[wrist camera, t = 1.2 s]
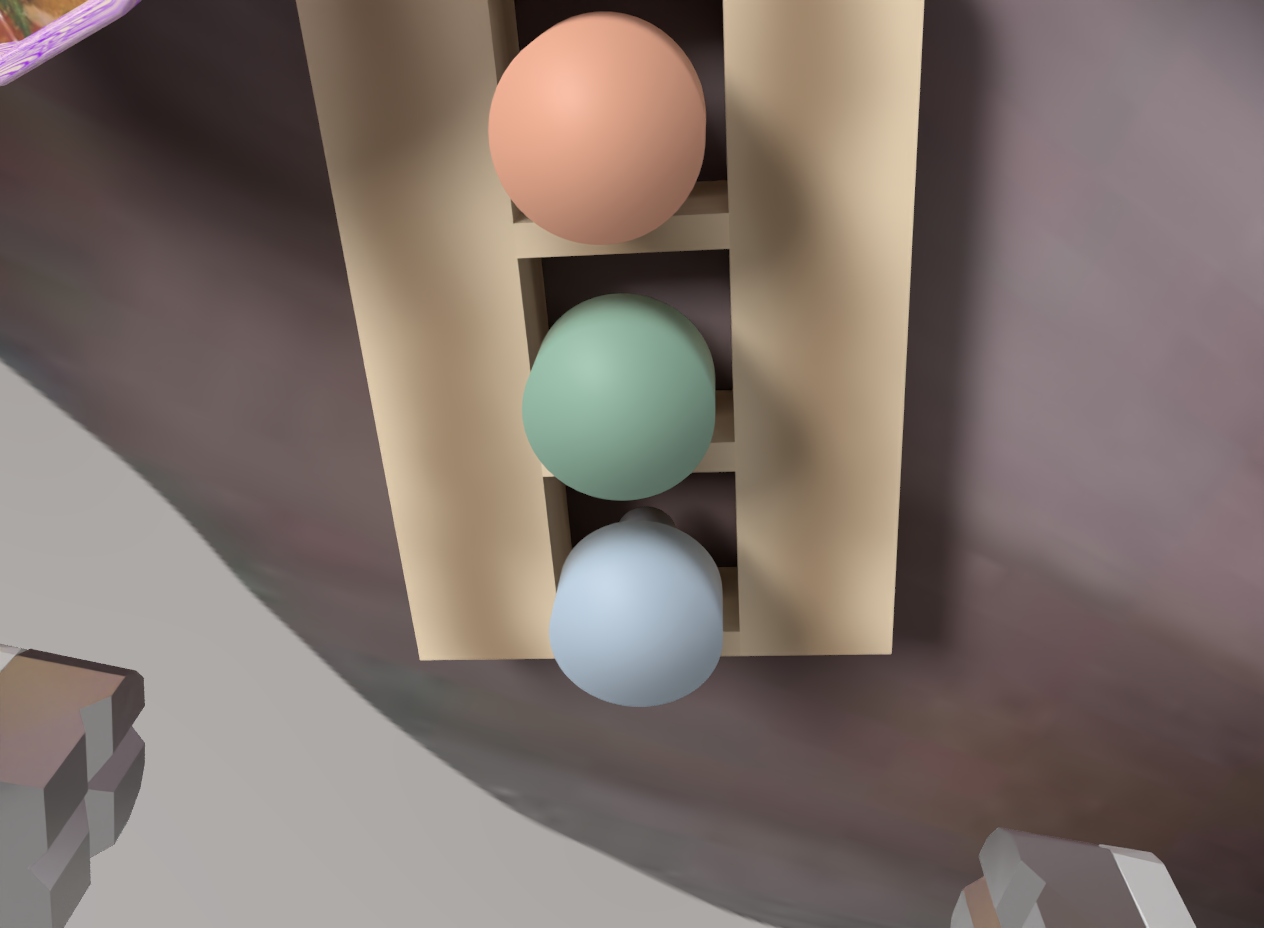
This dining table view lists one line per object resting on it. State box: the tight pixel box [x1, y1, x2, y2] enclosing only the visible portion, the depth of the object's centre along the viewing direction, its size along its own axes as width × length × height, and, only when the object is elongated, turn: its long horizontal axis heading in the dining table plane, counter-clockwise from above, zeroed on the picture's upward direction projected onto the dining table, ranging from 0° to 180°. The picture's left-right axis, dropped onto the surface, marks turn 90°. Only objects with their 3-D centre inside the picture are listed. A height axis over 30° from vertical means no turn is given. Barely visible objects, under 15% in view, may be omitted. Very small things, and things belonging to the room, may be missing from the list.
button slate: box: [549, 507, 723, 707], centre depth 34 cm, size 5×5×6 cm
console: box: [296, 0, 924, 660], centre depth 34 cm, size 16×22×4 cm
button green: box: [522, 293, 715, 501], centre depth 31 cm, size 5×5×6 cm
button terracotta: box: [488, 11, 706, 245], centre depth 28 cm, size 5×5×6 cm
